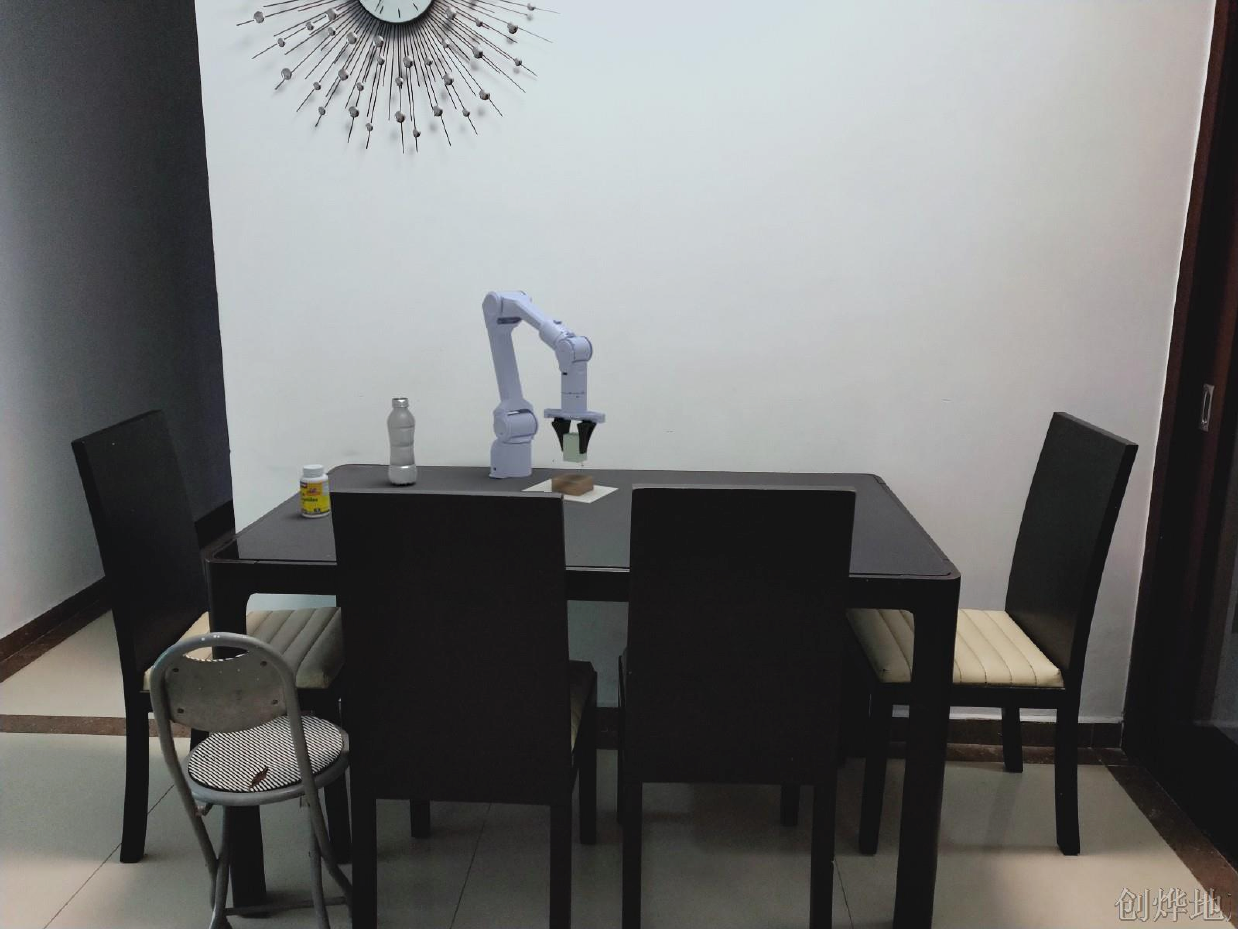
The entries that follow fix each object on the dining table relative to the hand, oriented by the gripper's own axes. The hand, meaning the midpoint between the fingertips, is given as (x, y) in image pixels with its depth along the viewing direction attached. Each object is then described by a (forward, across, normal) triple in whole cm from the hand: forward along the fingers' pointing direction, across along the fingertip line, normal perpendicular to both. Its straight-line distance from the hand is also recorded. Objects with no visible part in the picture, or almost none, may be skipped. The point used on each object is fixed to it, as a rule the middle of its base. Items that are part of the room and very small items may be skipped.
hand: (574, 452), depth 211 cm
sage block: (+2, 0, 0) cm, 2 cm away
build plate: (+10, -1, -1) cm, 10 cm away
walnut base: (+9, 0, -1) cm, 9 cm away
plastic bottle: (+10, -39, -12) cm, 42 cm away
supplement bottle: (+10, -38, -41) cm, 57 cm away
